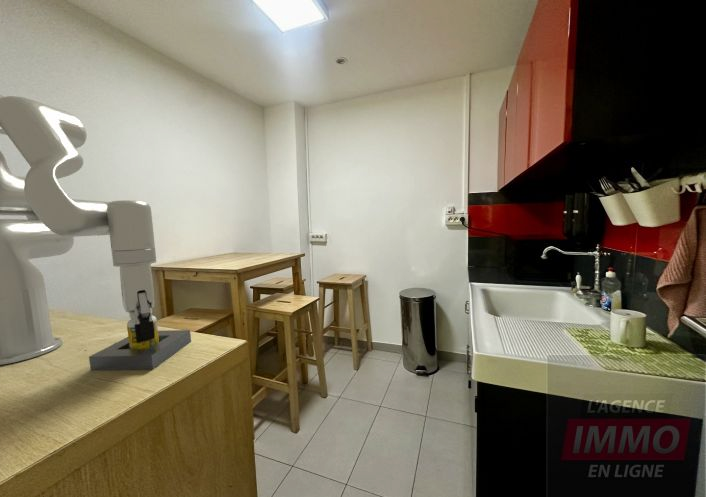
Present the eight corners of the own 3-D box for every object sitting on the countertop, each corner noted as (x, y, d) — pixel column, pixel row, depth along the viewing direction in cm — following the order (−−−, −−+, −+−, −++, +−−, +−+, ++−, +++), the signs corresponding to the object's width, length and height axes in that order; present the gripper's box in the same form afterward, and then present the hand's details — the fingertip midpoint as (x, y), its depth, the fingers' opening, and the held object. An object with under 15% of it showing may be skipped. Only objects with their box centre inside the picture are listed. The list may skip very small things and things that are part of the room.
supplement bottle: (160, 342, 66) (156, 304, 65) (159, 351, 62) (154, 310, 61) (131, 349, 63) (127, 308, 62) (128, 358, 59) (123, 315, 58)
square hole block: (90, 370, 56) (88, 356, 56) (140, 342, 69) (139, 331, 69) (152, 369, 56) (151, 355, 56) (191, 341, 69) (190, 330, 69)
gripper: (110, 256, 64) (119, 331, 66) (115, 263, 52) (126, 354, 54) (149, 253, 69) (156, 322, 71) (163, 258, 57) (171, 342, 59)
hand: (143, 335), depth 62 cm, fingers closed on supplement bottle, 5 cm apart
